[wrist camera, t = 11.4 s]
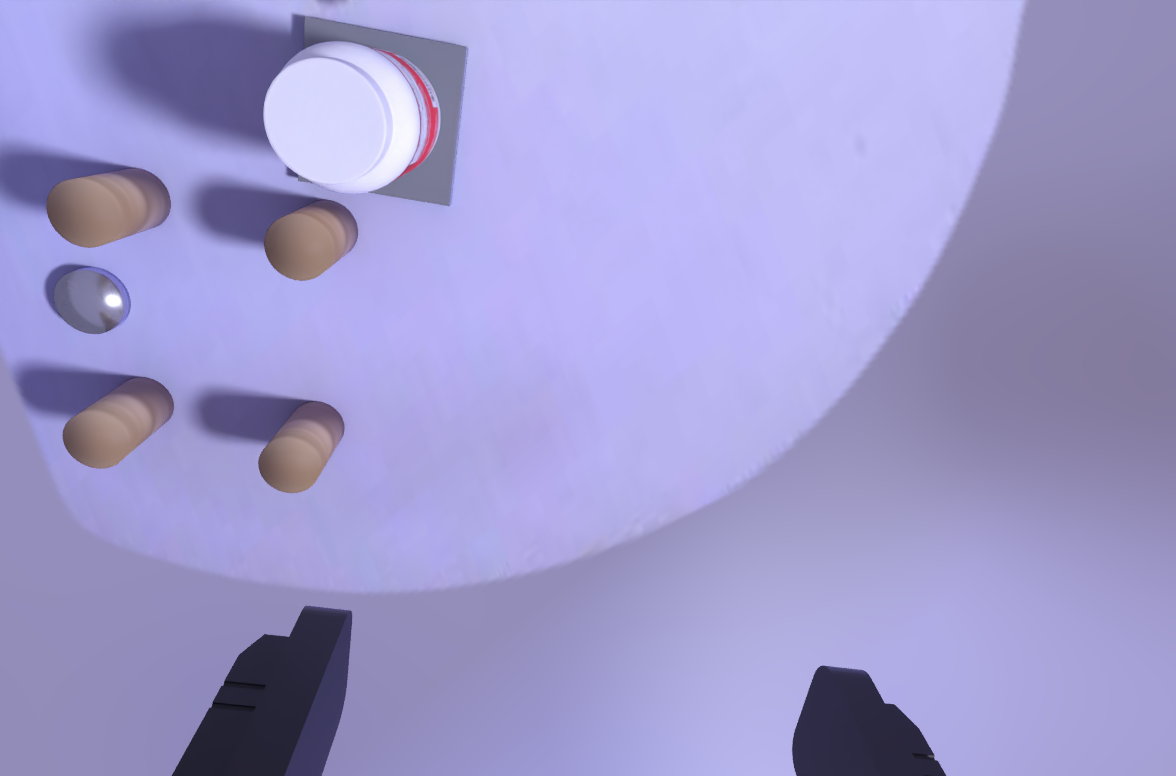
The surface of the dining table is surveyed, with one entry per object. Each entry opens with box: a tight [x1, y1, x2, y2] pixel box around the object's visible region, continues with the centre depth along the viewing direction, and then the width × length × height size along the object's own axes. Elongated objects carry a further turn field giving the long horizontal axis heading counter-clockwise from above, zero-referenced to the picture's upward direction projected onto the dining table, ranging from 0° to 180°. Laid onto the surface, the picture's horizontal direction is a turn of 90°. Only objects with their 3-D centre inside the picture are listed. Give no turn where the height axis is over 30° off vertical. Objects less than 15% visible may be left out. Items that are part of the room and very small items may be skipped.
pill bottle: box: [263, 41, 440, 194], centre depth 35 cm, size 6×6×11 cm
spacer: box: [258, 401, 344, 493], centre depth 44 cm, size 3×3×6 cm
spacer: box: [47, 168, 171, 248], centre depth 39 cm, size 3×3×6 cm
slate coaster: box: [298, 16, 468, 206], centre depth 40 cm, size 8×8×1 cm
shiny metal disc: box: [54, 267, 131, 334], centre depth 43 cm, size 4×4×1 cm
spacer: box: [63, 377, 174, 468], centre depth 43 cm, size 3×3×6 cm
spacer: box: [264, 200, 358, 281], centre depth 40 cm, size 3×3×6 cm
